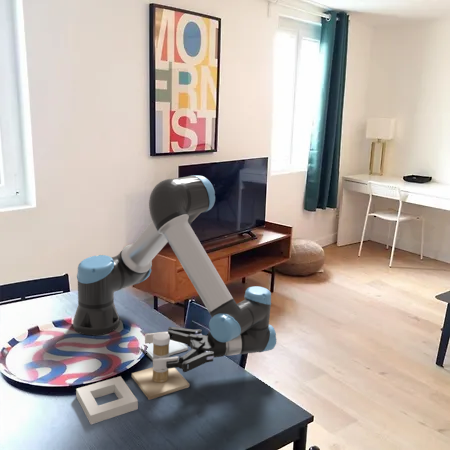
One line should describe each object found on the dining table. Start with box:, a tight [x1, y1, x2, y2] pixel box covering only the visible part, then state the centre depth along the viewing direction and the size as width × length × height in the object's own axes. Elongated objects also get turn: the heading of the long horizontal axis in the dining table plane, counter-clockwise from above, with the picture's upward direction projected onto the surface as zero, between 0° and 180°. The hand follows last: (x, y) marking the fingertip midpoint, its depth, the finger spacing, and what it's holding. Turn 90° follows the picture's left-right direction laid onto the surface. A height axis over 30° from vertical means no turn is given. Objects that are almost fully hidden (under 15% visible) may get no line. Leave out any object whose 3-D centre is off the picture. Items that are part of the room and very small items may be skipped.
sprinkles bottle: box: [152, 331, 170, 383], centre depth 127 cm, size 5×5×13 cm
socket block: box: [75, 375, 139, 425], centre depth 118 cm, size 12×12×2 cm
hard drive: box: [145, 340, 189, 362], centre depth 145 cm, size 2×8×12 cm
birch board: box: [131, 366, 190, 401], centre depth 128 cm, size 12×12×1 cm
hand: (148, 351), depth 125 cm, fingers open, 13 cm apart
